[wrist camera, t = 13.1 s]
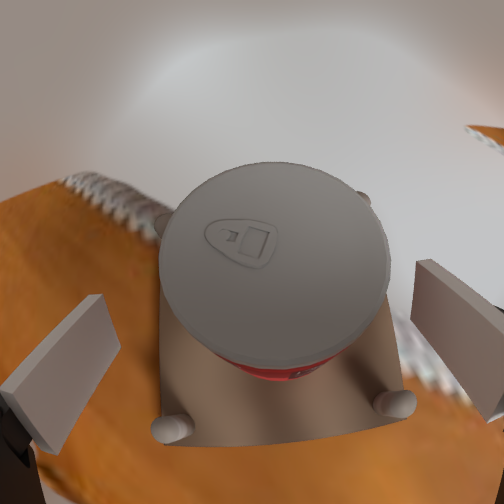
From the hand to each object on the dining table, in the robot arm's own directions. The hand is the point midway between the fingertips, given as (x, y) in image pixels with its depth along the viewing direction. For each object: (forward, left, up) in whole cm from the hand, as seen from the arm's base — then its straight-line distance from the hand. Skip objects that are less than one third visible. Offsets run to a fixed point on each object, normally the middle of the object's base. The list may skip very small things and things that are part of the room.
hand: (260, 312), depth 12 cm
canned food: (-1, -1, -8) cm, 9 cm away
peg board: (-1, -1, -10) cm, 10 cm away
